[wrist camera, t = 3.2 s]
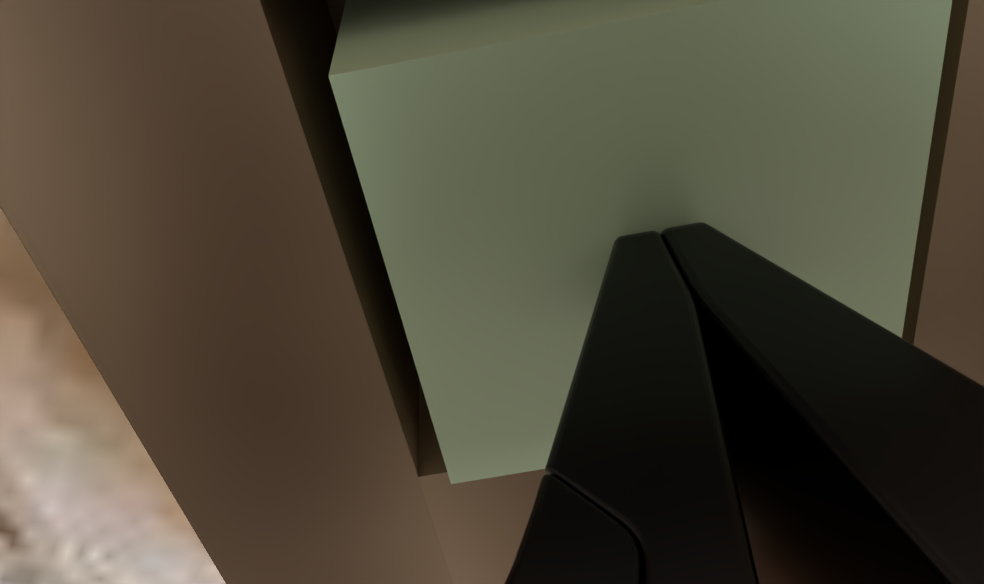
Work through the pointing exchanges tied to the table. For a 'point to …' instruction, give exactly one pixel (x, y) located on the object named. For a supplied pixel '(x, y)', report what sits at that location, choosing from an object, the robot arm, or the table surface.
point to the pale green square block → (620, 170)
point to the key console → (308, 278)
